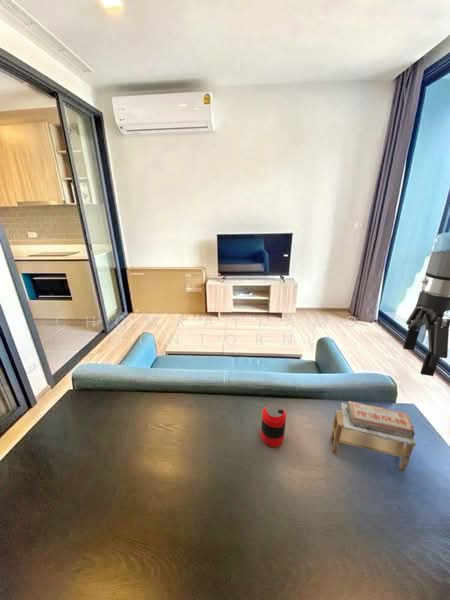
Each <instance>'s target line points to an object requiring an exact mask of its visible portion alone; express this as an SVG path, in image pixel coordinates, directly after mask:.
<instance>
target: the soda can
mask: <svg viewBox="0 0 450 600" xmlns="http://www.w3.org/2000/svg"><path fill="white" fill-rule="evenodd" d="M286 423H287V413H286V411H285V409H284V408H283V407H282V406H281V405H279V404H277V403H269V404H267V405H266V406H264V407H263V409H262V415H261V431H260V439H261V441H262V442H263V443H264V444H265V445H266V446H268V447H272V448H277V447H280V446H281V445H282V444H283V443H284V439H285V438H284V437H285V431H286Z"/></svg>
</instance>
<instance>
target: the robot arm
mask: <svg viewBox="0 0 450 600" xmlns="http://www.w3.org/2000/svg"><path fill="white" fill-rule="evenodd" d="M421 283H422V285H421V290H420V291H419V295H418V298H417V301H416V304H415V307H414V309H413V310H412V312H411V313H410V315H409V317H408V319H407V320H406V321H405V324H406V325H407V329H408V330H407V332H406V337H405V340H404V343H403V347H402V348H403V350H409V351H414V350H415V347H416V343H417V341H418V337H419V334H420V331H421V328H422V327H423V326H424V328H425V330H426V331H427V338H428V351H427V352H425V357H424V359H423V363H422V366H421V370H420V374H421V375H423V376H429V377H434V375H435V373H436V369H437V366H438V365H439V361H440V358H441V359H448V352H449V335H450V333H449V332H450V318H445V312H449V311H450V231H449V232H448V231H447V232H442V233H441V232H440V233H439V234H438V235H437V236H436V238H435V241H434V244H433V247H432V249H431V252H430V257H429V260H428V263H427V267H426V271H425V274H424V277H423V279H422V280H421Z"/></svg>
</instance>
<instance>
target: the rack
mask: <svg viewBox="0 0 450 600" xmlns="http://www.w3.org/2000/svg"><path fill="white" fill-rule="evenodd" d="M413 438H414V440H415V442H416V439H415V436H413ZM330 441H331V442H333V443H332V448H331V453H332V454H335V455H337V453H338V447H339V444H344V445H348V446H352V447H357V448H361V449H365V450H368V451H374V452H378V453H382V454H386V455H390V456H395V457H398V458H401V460H400V462H399V465H398V468H399V470H400V471H402V472H406V469H407V466H408V464H409V461H410V458H411V456H412V452H413V450H414V447H415V446H414V445H410V444H406V443H403V442H398V441H391V440H384V439H382V438H379V437H376V436H372V435H368V434H365V433H361V432H358V431H352V430H346V429H344V424H343V415H342V410H340V409H339V410H338V409H336V410H335V414H334V419H333V424H332V429H331V434H330ZM416 443H417V442H416Z"/></svg>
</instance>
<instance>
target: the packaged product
mask: <svg viewBox="0 0 450 600" xmlns="http://www.w3.org/2000/svg"><path fill="white" fill-rule="evenodd" d="M341 411H342V415H343V424H344V429H346V430H352V431H358V432H361V433H365V434H368V435H372V436H376V437H379V438H382V439H384V440H391V441H398V442H403V443H404V444H405V445H407V444H410V445H414V447H415V446H417V442H415V441H416V439H415V435H416V431H415V426H414V425H413V423H412V420H411V417H410V414H409V413H407V412H402V411H398V410H393V409H388V408H384V407H380V406H374V405H370V404H366V403H365V404H364V403H360V402H356V401H351V400H350V401H347V402H341ZM413 437H414V438H413ZM414 439H415V440H414Z"/></svg>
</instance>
